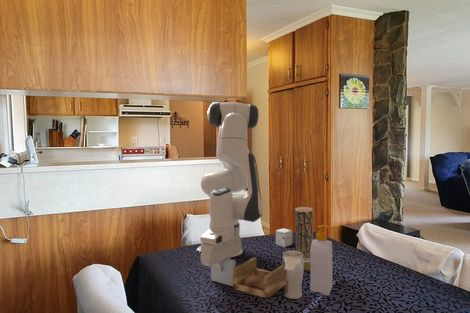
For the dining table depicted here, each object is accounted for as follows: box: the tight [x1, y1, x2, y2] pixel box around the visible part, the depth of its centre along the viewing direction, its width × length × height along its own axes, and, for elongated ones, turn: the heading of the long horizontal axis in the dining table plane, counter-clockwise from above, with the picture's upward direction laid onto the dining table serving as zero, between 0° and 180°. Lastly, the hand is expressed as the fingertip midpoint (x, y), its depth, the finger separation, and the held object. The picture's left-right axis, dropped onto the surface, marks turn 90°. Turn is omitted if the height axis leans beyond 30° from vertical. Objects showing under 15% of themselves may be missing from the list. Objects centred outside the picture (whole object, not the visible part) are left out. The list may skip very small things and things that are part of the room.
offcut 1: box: [245, 275, 264, 288], centre depth 121 cm, size 8×4×2 cm, turn 59°
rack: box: [232, 257, 285, 299], centre depth 123 cm, size 14×14×8 cm
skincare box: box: [275, 228, 293, 248], centre depth 173 cm, size 6×6×7 cm
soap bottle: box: [309, 224, 333, 296], centre depth 121 cm, size 9×7×23 cm
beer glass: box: [282, 250, 305, 300], centre depth 116 cm, size 7×7×15 cm
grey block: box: [210, 258, 237, 287], centre depth 127 cm, size 10×2×9 cm, turn 55°
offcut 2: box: [244, 282, 264, 291], centre depth 122 cm, size 9×4×2 cm, turn 55°
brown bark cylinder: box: [295, 206, 314, 271], centre depth 140 cm, size 7×7×25 cm
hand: (222, 270), depth 127 cm, fingers closed on grey block, 2 cm apart
